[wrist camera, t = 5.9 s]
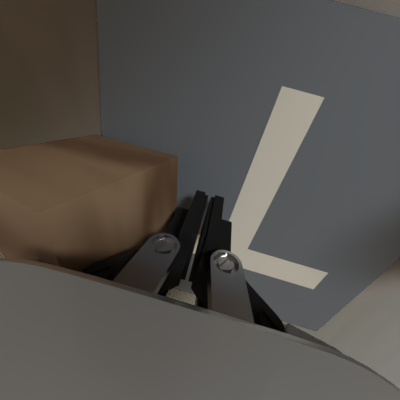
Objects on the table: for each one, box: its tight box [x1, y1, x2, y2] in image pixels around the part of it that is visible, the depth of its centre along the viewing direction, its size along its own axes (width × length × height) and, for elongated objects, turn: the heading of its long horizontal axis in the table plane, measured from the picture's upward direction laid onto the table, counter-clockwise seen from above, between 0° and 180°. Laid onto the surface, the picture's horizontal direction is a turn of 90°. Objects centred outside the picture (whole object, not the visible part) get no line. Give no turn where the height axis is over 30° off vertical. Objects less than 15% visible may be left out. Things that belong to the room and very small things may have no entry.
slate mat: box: [96, 0, 400, 331], centre depth 13 cm, size 20×20×1 cm
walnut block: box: [0, 135, 178, 272], centre depth 10 cm, size 6×6×6 cm
